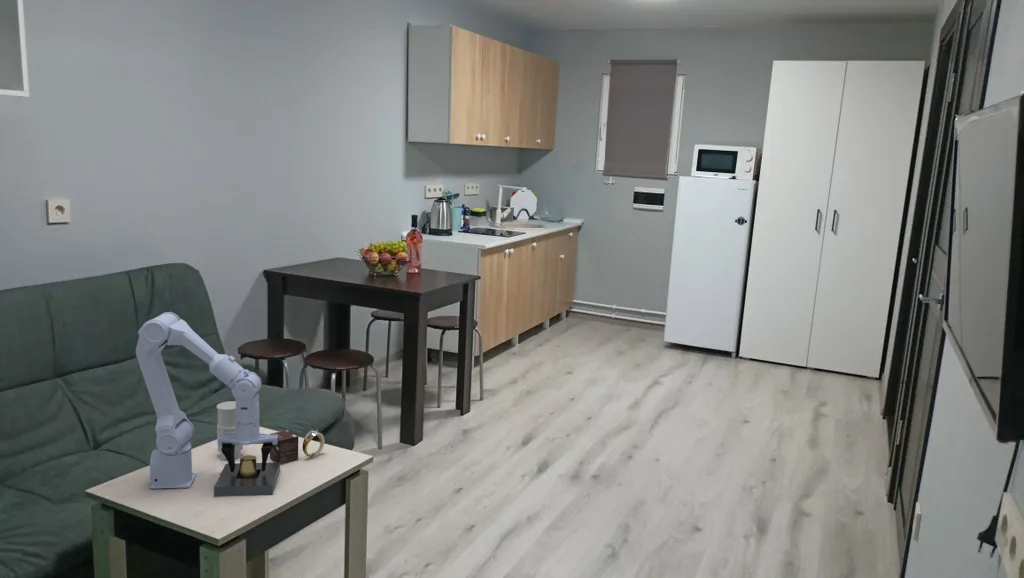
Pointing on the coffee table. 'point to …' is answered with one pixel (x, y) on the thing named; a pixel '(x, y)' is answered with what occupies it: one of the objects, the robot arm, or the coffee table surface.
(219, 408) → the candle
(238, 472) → the block
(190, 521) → the coffee table surface
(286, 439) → the box
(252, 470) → the brass shaft
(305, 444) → the ring
